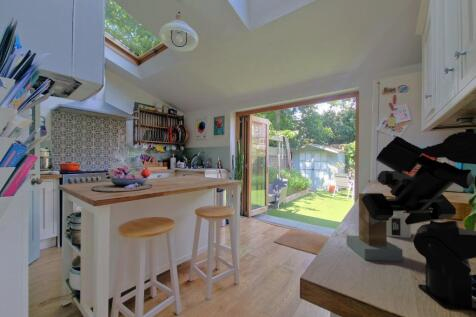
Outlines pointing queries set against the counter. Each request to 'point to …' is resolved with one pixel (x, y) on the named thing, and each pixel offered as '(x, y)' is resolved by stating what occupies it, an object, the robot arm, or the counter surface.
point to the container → (398, 224)
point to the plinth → (374, 250)
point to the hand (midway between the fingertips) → (389, 223)
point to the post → (370, 227)
